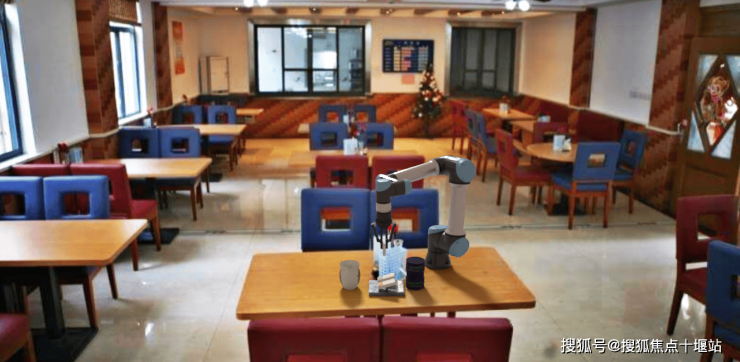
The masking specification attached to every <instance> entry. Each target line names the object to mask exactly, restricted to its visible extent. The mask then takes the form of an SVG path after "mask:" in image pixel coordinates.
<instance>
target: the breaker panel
mask: <svg viewBox="0 0 740 362" xmlns="http://www.w3.org/2000/svg"><path fill="white" fill-rule="evenodd" d="M395 282H396V285H393V286H389V287H386V288H382V289H378V279H377V280H376V279H369V280H368V297H405V295H406V294H405V284H404V280H403V279H402V280H401V279H400V280H399V279H395Z"/></svg>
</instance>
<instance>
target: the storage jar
mask: <svg viewBox="0 0 740 362" xmlns="http://www.w3.org/2000/svg"><path fill="white" fill-rule="evenodd" d="M425 267H426V266H425V258H424V257H421V256H409V257H407V258H406V259H405V270H406V272H405V273H406V276H405V288H406V289H407V290H409V291H417V292H418V291H422V290H424V289H425V281H426V280H425V270H426V268H425Z"/></svg>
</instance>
